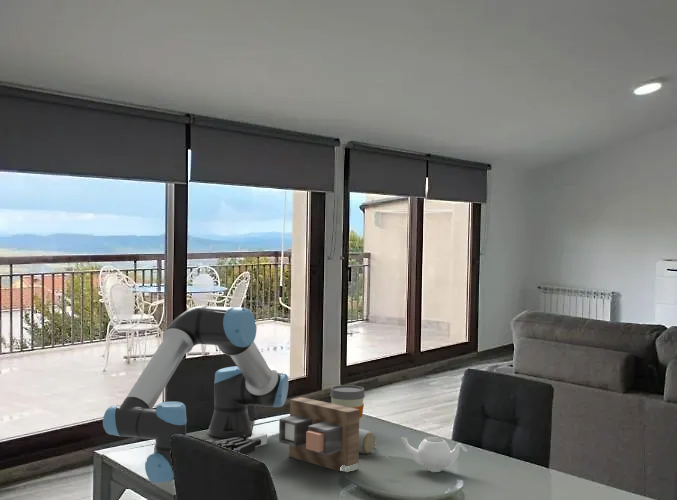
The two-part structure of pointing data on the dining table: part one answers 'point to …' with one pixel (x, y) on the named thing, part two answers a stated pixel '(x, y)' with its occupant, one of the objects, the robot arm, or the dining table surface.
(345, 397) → the reusable coffee cup
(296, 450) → the key panel
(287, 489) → the dining table surface
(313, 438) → the terracotta key
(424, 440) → the teapot
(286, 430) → the white key
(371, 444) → the grey canister
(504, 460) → the dining table surface
